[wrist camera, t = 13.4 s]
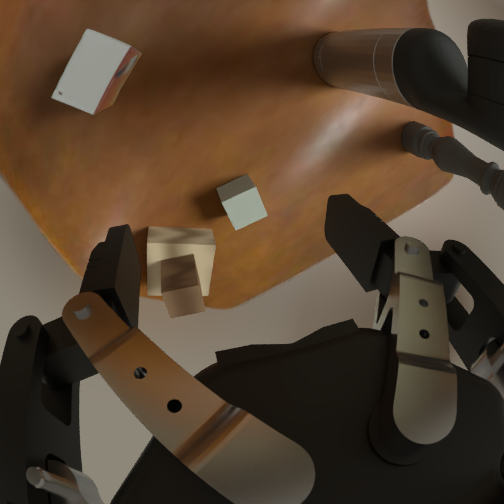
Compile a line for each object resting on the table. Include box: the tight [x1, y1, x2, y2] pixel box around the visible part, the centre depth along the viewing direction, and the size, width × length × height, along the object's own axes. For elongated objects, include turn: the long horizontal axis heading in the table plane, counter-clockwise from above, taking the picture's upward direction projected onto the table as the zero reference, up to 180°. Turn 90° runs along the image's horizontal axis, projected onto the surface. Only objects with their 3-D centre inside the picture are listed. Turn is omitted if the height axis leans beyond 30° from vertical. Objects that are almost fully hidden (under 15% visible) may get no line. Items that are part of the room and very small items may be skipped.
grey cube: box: [216, 174, 268, 230], centre depth 42 cm, size 5×5×5 cm
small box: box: [51, 29, 142, 115], centre depth 24 cm, size 8×6×10 cm
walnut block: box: [161, 254, 205, 318], centre depth 41 cm, size 5×5×7 cm
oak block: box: [147, 227, 216, 296], centre depth 45 cm, size 10×10×5 cm
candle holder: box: [401, 121, 504, 210], centre depth 35 cm, size 6×6×25 cm
